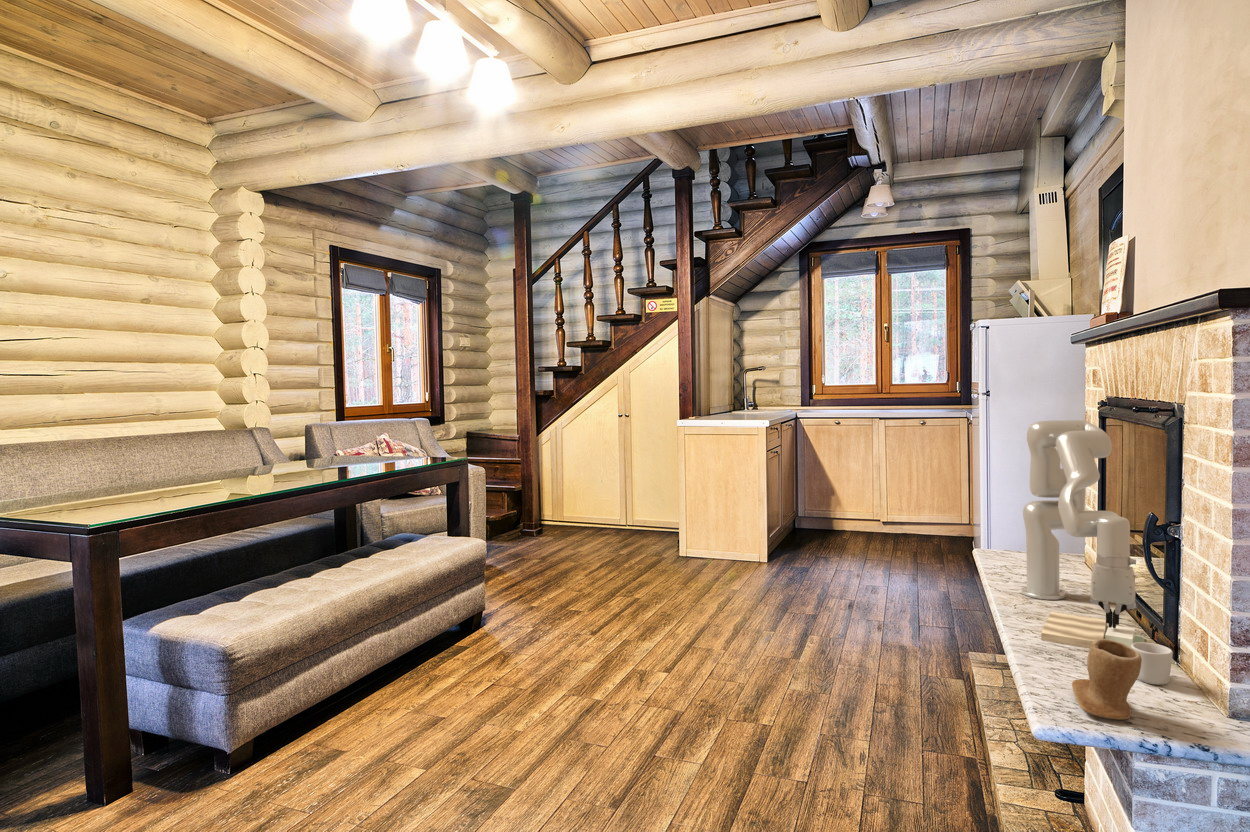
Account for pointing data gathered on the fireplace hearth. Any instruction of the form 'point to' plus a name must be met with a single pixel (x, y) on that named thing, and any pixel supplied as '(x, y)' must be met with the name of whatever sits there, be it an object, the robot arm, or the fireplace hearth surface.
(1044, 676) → the fireplace hearth surface
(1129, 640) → the cream rectangular block
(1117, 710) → the brown hollow flared vessel
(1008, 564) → the fireplace hearth surface
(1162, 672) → the cup
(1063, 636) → the wavy wooden board
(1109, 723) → the fireplace hearth surface
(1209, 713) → the fireplace hearth surface
